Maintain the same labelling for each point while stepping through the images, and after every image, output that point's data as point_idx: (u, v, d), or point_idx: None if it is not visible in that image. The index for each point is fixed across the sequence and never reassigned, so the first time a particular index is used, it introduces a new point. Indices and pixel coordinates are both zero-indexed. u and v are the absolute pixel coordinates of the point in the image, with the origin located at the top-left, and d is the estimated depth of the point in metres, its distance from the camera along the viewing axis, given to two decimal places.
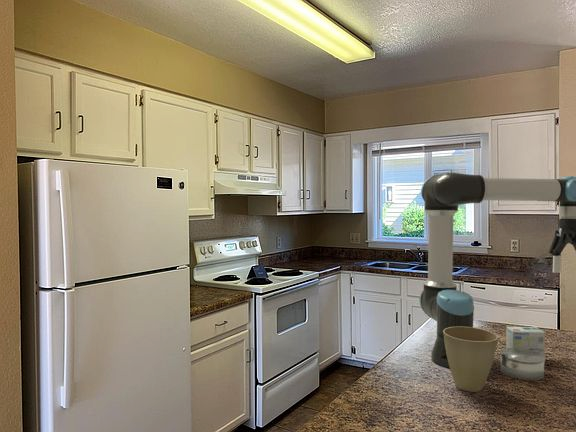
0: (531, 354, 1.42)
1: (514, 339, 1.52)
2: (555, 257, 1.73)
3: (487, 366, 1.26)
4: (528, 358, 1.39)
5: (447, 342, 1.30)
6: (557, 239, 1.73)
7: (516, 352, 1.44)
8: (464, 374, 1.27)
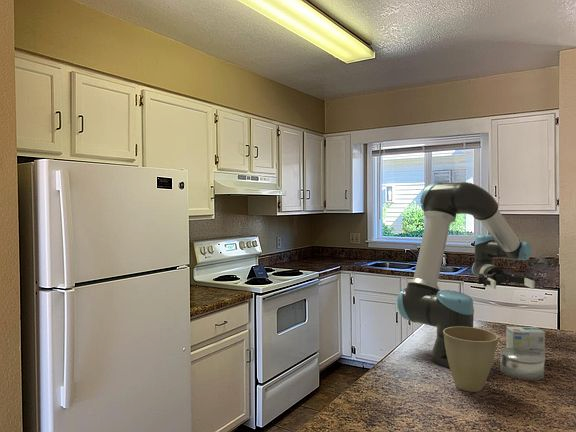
0: (531, 354, 1.42)
1: (514, 339, 1.52)
2: None
3: (487, 366, 1.26)
4: (528, 358, 1.39)
5: (447, 342, 1.30)
6: (483, 277, 1.76)
7: (516, 352, 1.44)
8: (464, 374, 1.27)
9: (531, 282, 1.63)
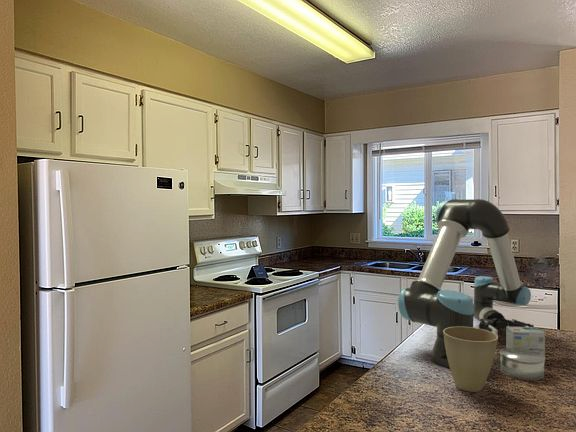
0: (531, 354, 1.42)
1: (514, 339, 1.52)
2: None
3: (487, 366, 1.26)
4: (528, 358, 1.39)
5: (447, 342, 1.30)
6: (484, 322, 1.75)
7: (516, 352, 1.44)
8: (464, 374, 1.27)
9: None
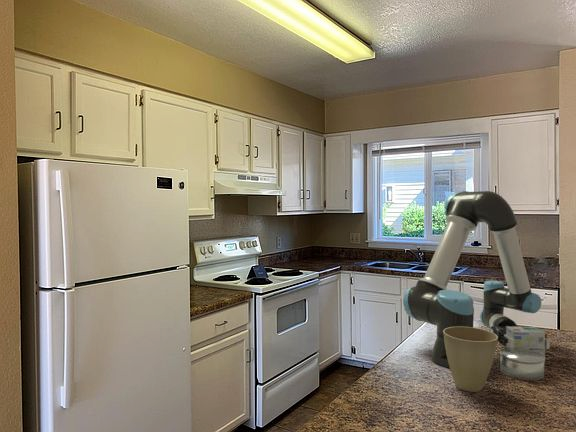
0: (531, 354, 1.42)
1: (514, 339, 1.51)
2: None
3: (487, 366, 1.26)
4: (528, 358, 1.39)
5: (447, 342, 1.30)
6: None
7: (516, 352, 1.44)
8: (464, 374, 1.27)
9: (546, 341, 1.51)
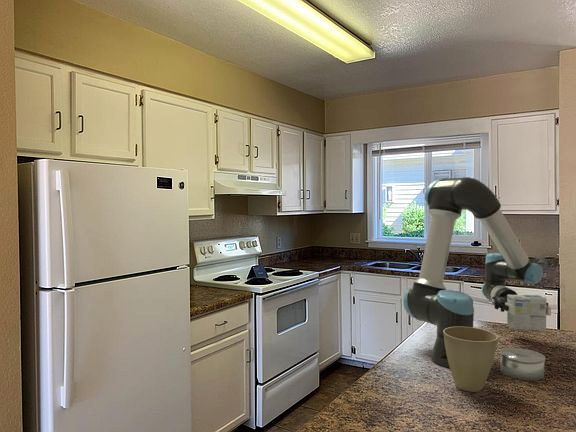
0: (531, 354, 1.42)
1: (514, 306, 1.50)
2: None
3: (487, 366, 1.26)
4: (528, 358, 1.39)
5: (447, 342, 1.30)
6: (497, 300, 1.62)
7: (516, 352, 1.44)
8: (464, 374, 1.27)
9: (547, 308, 1.49)
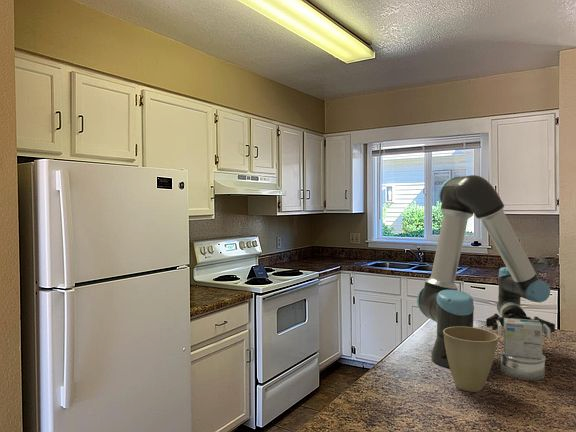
0: None
1: (506, 331, 1.41)
2: (499, 322, 1.47)
3: (487, 366, 1.26)
4: (528, 358, 1.39)
5: (447, 342, 1.30)
6: (496, 318, 1.53)
7: None
8: (464, 374, 1.27)
9: (547, 330, 1.38)
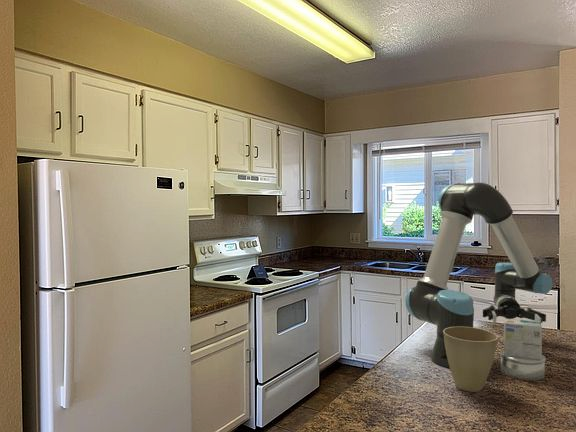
0: None
1: (505, 331, 1.41)
2: (494, 312, 1.59)
3: (487, 366, 1.26)
4: (528, 359, 1.39)
5: (447, 342, 1.30)
6: (492, 309, 1.66)
7: None
8: (464, 374, 1.27)
9: (538, 319, 1.50)
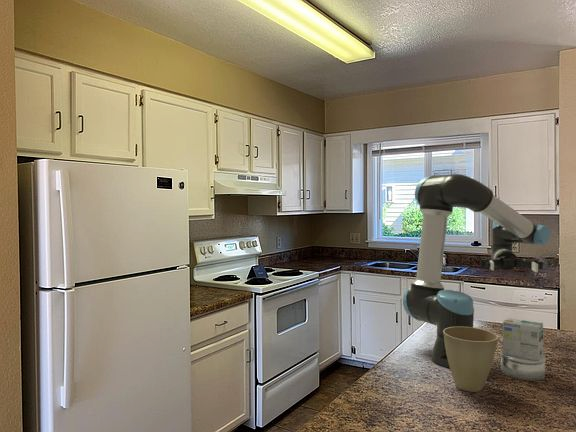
0: None
1: (503, 330, 1.43)
2: (492, 261, 1.61)
3: (487, 366, 1.26)
4: (526, 359, 1.39)
5: (447, 342, 1.30)
6: (490, 260, 1.67)
7: None
8: (464, 374, 1.27)
9: (535, 265, 1.52)
